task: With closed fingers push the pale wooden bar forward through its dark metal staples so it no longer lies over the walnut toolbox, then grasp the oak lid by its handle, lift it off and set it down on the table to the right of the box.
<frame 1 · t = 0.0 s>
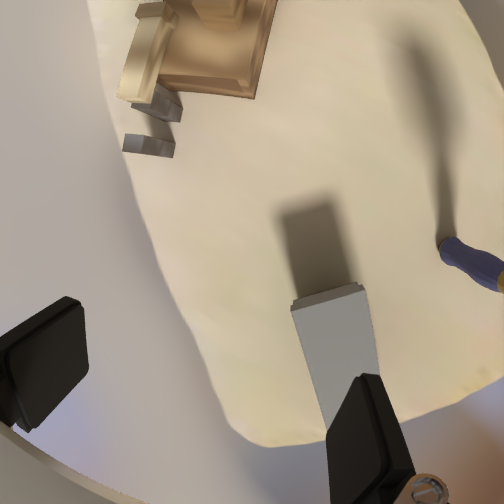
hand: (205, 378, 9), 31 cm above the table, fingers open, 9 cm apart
rubber mallet: (445, 248, 37), on the table
lid: (211, 10, 26), point 8 cm above the table, touching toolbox
sharpening stone: (337, 345, 42), on the table
pale wooden bar: (145, 51, 24), point 12 cm above the table, slide at 0.0 cm
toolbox: (224, 37, 33), on the table
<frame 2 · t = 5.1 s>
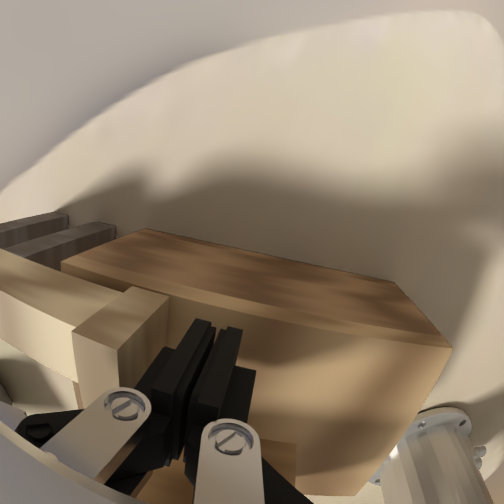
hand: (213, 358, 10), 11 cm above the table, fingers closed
lid: (233, 406, 14), point 8 cm above the table, touching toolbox
pale wooden bar: (34, 312, 10), point 12 cm above the table, slide at 1.2 cm, touching gripper
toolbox: (252, 333, 21), on the table
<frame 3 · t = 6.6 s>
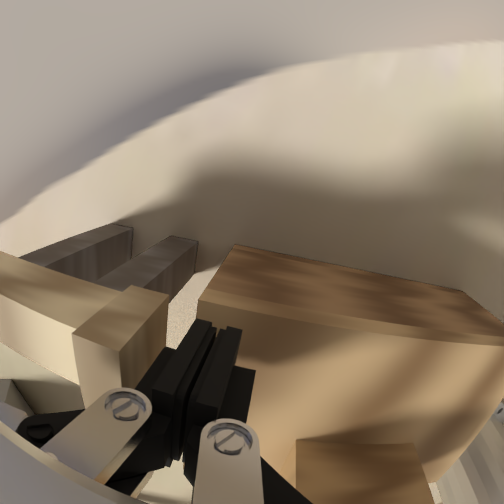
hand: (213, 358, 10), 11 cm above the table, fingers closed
lid: (361, 419, 13), point 8 cm above the table, touching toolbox
sharpening stone: (10, 399, 30), on the table
pale wooden bar: (32, 313, 10), point 12 cm above the table, slide at 8.0 cm, touching gripper, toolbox
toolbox: (340, 345, 21), on the table
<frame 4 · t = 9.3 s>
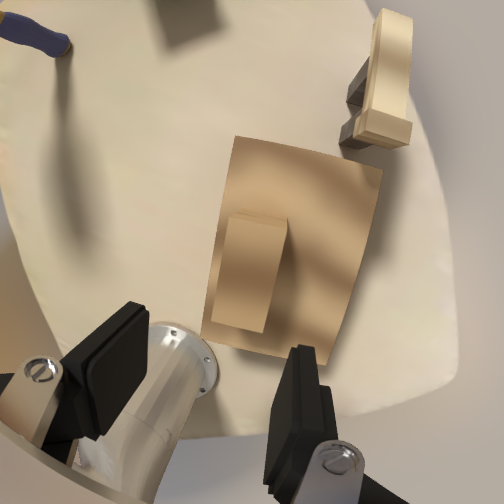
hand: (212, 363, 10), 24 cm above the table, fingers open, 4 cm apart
rubber mallet: (65, 48, 30), on the table
lid: (286, 257, 25), point 8 cm above the table, touching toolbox
pale wooden bar: (388, 74, 18), point 12 cm above the table, slide at 8.7 cm, touching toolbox
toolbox: (286, 239, 33), on the table
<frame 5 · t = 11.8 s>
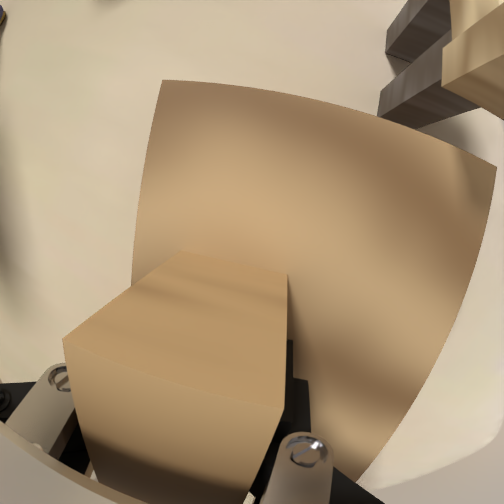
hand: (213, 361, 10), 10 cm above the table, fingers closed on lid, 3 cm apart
lid: (284, 350, 11), point 8 cm above the table, touching gripper, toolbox
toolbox: (286, 283, 19), on the table
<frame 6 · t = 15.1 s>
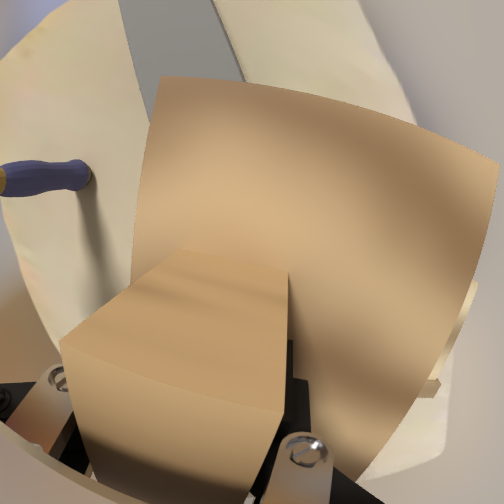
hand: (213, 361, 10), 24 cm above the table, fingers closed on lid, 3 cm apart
rubber mallet: (84, 174, 34), on the table
lid: (285, 349, 11), point 22 cm above the table, touching gripper
sharpening stone: (195, 44, 29), on the table
pale wooden bar: (438, 334, 22), point 12 cm above the table, slide at 8.7 cm, touching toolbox
when the fingers open (4 cm above the table, at t = 18.3 s): lid drops 2 cm, point 1 cm above the table.
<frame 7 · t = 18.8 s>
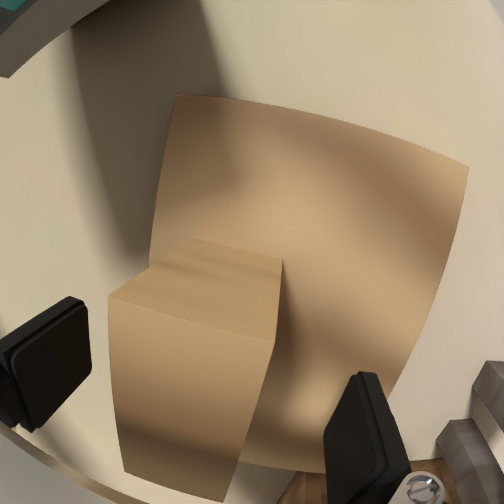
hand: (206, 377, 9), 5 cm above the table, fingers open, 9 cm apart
lid: (281, 329, 13), point 1 cm above the table
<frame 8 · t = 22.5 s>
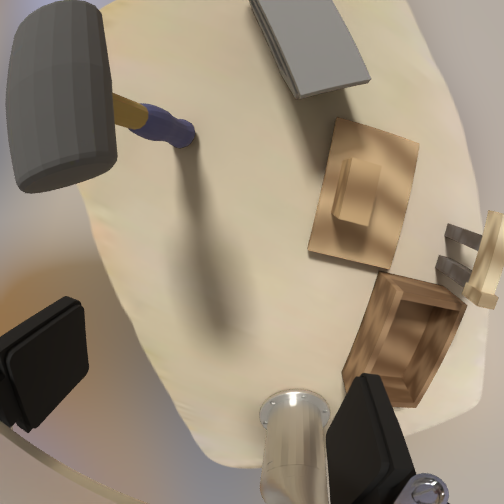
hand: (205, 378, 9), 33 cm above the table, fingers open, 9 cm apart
rubber mallet: (185, 135, 40), on the table
lid: (365, 194, 38), point 1 cm above the table
sharpening stone: (292, 35, 34), on the table
pale wooden bar: (492, 259, 27), point 12 cm above the table, slide at 8.7 cm, touching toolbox
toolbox: (393, 331, 43), on the table
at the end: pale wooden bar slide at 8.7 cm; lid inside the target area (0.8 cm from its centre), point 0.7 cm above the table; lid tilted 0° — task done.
